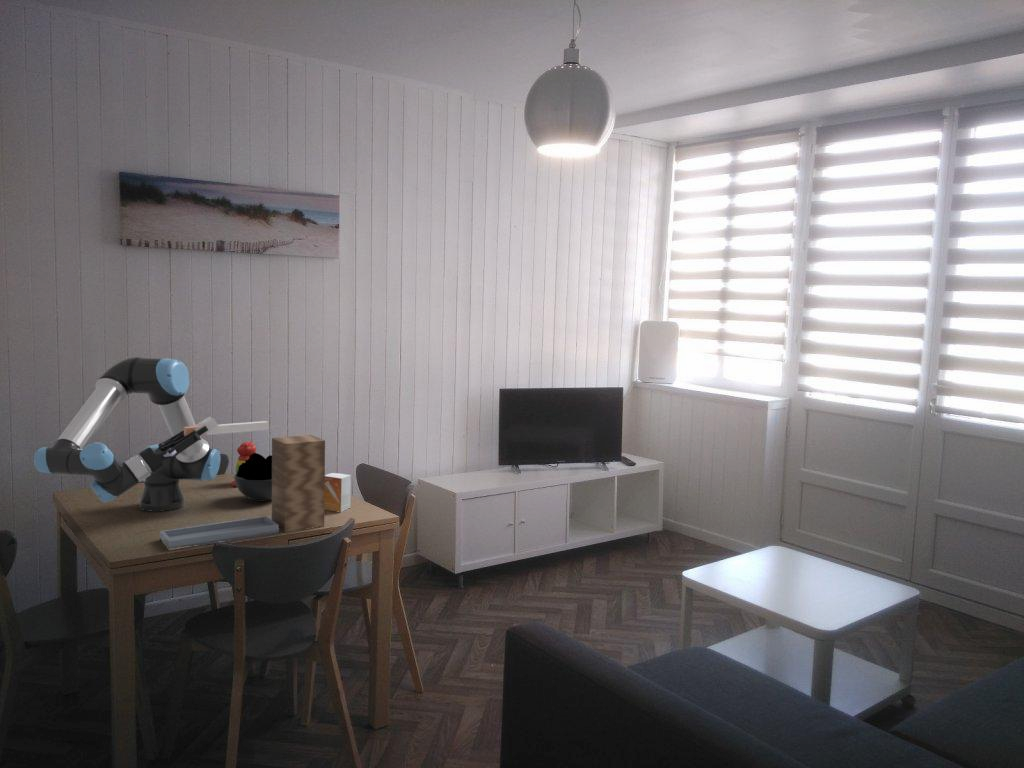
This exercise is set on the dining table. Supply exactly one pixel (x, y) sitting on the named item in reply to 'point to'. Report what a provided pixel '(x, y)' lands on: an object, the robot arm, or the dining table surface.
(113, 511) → the dining table surface
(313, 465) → the pedestal
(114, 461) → the robot arm
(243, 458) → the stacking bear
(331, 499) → the small box
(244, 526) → the tray
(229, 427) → the marker
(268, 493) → the coal bowl
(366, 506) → the dining table surface
